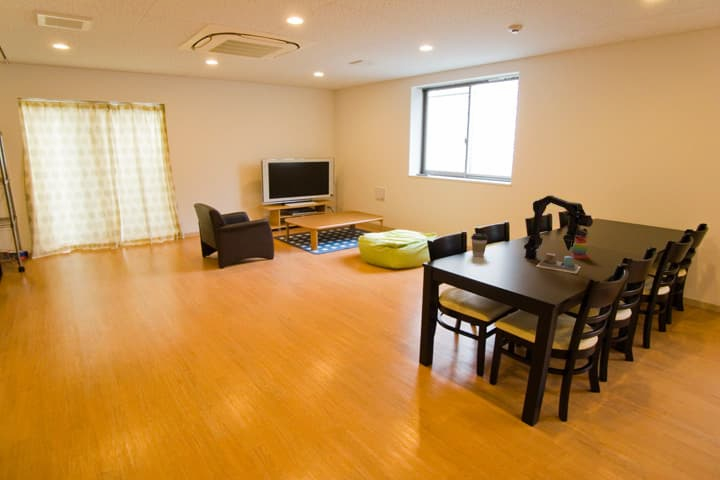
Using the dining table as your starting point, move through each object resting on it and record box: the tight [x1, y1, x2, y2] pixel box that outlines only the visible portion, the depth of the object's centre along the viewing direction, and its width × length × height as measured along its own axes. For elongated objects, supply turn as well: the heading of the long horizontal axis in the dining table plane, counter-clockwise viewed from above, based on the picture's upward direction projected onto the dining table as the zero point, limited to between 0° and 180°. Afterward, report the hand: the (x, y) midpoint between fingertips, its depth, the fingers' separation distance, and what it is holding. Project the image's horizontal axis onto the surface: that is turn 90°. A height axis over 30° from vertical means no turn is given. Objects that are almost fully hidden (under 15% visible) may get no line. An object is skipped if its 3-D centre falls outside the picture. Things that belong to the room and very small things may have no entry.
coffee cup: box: [470, 232, 489, 258], centre depth 279 cm, size 11×11×15 cm
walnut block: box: [544, 252, 557, 265], centre depth 259 cm, size 5×5×7 cm
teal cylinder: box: [563, 255, 574, 267], centre depth 252 cm, size 5×5×7 cm
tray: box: [536, 258, 581, 274], centre depth 256 cm, size 23×14×2 cm, turn 53°
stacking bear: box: [570, 235, 590, 260], centre depth 277 cm, size 11×10×18 cm
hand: (570, 248), depth 250 cm, fingers open, 9 cm apart
